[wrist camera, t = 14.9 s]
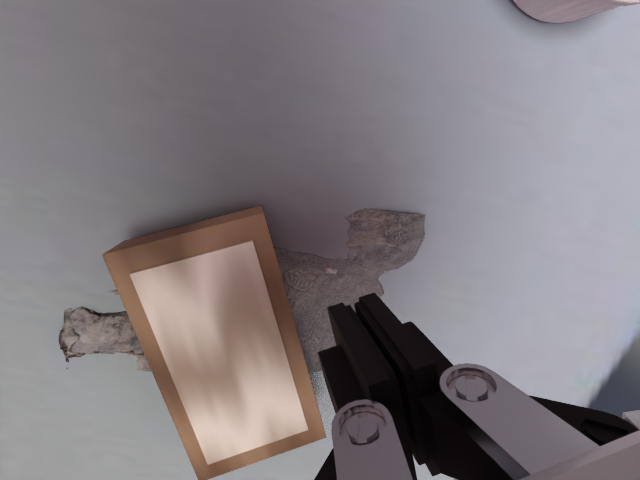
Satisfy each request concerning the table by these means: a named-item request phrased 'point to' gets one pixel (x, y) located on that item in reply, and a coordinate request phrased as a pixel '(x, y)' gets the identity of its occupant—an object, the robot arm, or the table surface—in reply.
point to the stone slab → (300, 284)
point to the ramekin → (568, 8)
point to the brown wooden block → (219, 339)
